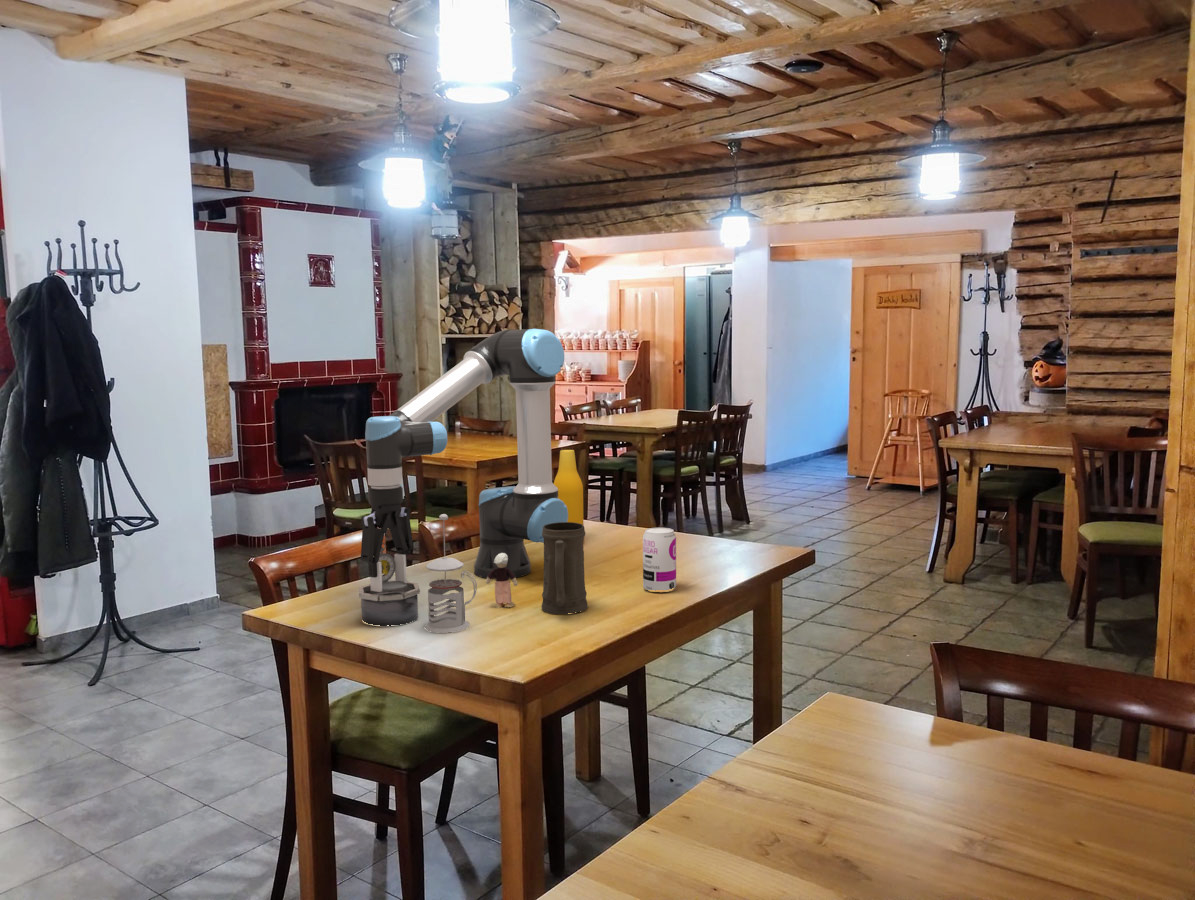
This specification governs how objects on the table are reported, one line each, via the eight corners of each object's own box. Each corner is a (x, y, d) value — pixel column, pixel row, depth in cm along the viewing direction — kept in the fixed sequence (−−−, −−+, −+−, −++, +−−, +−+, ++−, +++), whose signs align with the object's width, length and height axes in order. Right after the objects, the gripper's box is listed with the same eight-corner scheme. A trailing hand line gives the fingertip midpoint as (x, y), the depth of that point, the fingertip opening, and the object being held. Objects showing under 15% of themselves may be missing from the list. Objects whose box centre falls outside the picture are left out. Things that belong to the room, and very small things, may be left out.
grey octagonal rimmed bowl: (417, 608, 224) (416, 578, 223) (422, 624, 211) (421, 593, 210) (359, 613, 220) (357, 583, 219) (361, 629, 207) (360, 598, 206)
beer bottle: (583, 549, 284) (582, 452, 280) (552, 549, 284) (550, 452, 280) (584, 542, 293) (583, 448, 289) (554, 542, 293) (552, 449, 290)
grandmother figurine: (519, 603, 226) (518, 551, 225) (518, 608, 223) (517, 554, 221) (486, 604, 226) (485, 551, 225) (485, 608, 222) (483, 555, 221)
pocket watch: (399, 593, 210) (397, 548, 209) (363, 591, 211) (362, 547, 210) (413, 584, 218) (412, 541, 217) (379, 582, 219) (377, 539, 218)
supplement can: (679, 586, 240) (679, 528, 238) (671, 595, 232) (671, 534, 230) (648, 584, 243) (648, 526, 241) (639, 592, 235) (638, 532, 233)
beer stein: (540, 601, 227) (539, 520, 224) (585, 600, 228) (584, 519, 225) (542, 625, 212) (541, 538, 209) (590, 623, 213) (589, 537, 210)
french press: (430, 619, 215) (427, 509, 212) (481, 620, 213) (478, 510, 211) (418, 632, 205) (414, 518, 202) (471, 633, 204) (468, 518, 201)
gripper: (402, 478, 223) (405, 574, 225) (339, 491, 205) (344, 595, 208) (427, 480, 219) (430, 578, 222) (366, 494, 201) (370, 599, 204)
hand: (389, 586), depth 215 cm, fingers closed on pocket watch, 7 cm apart
